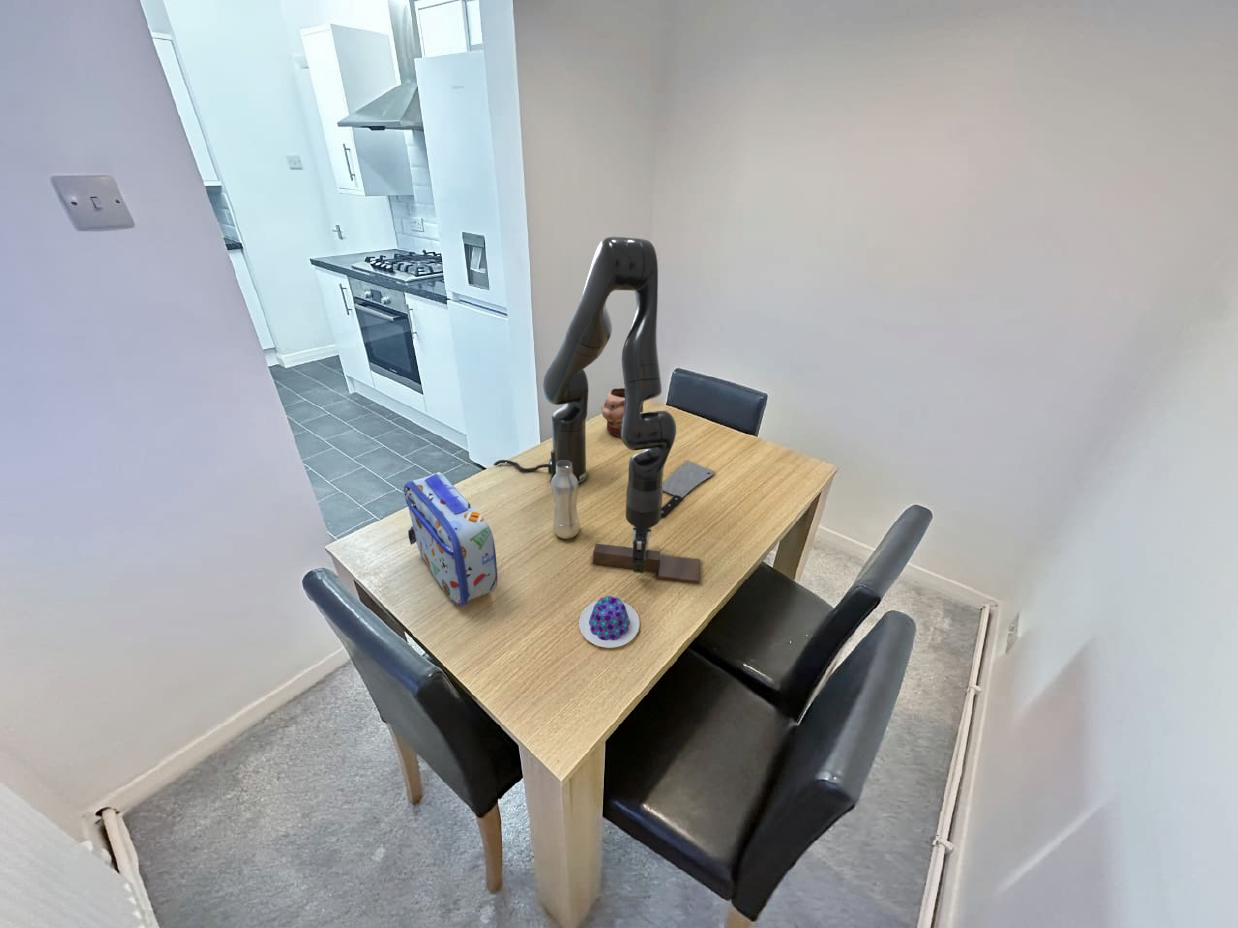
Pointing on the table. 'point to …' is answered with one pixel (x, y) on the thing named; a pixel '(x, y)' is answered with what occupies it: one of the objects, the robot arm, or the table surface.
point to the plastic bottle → (565, 500)
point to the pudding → (609, 622)
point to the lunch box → (451, 538)
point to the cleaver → (683, 483)
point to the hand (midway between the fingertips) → (640, 558)
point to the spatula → (649, 562)
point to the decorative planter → (615, 410)
